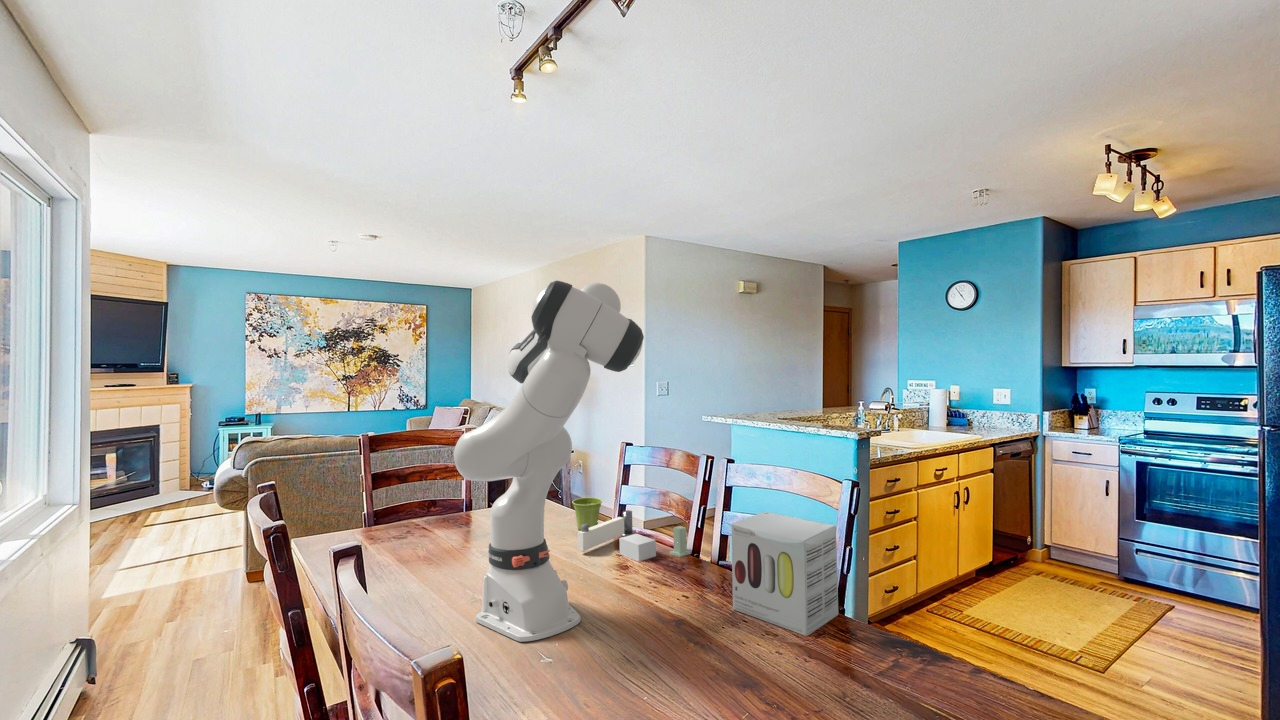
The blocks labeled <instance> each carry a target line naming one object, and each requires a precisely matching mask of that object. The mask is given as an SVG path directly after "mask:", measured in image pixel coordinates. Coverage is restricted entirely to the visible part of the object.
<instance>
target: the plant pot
mask: <svg viewBox="0 0 1280 720" xmlns="http://www.w3.org/2000/svg"><path fill="white" fill-rule="evenodd" d="M602 503H603V500H602V499H601V498H598V497H581V498H576V499H575V498H574V499H573V500H572V501H571V504H573V508H574V512H575V519H576V526H577V530H579V531H581V525H582V524H588V525H589V528H590V527H593V526H595V525H598V524H599V518H600V515H599V514H600V508H601V504H602ZM597 521H598V522H597Z"/></svg>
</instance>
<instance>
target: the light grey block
mask: <svg viewBox="0 0 1280 720" xmlns="http://www.w3.org/2000/svg"><path fill="white" fill-rule="evenodd" d="M618 539H619V543H618V544H619V555H621V556H624V557H626V558H629V559H631V560H634V561H636V562H642V561H644V560H648V559H652V558H655V557H657V546H656V545H657V544H656V543H657V539H654V538H650V537H648V536H646V535H645V536H644V535H642V534H639V533H635V534H633V535H630V536H626V537H622V536H621V537H618Z"/></svg>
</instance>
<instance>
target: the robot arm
mask: <svg viewBox="0 0 1280 720" xmlns="http://www.w3.org/2000/svg"><path fill="white" fill-rule="evenodd" d="M621 309H622V305H621V299H620V297H619V295H618V293H617V291H615V290H614V289H613V288H612V287H611V286H609V285H607V284H605V283H600V282H593V283H589V284H586V285H585V286H583V287H582V288H581V289H578V288H575V287H573V284H571V283H569V282H566V281H561V280H554V281H551V282H550V283H549V284H548V285H546V286H545V287H544V288H542V290H540V291H539V293H538V294H537V296H536V297H535V300H534V302H533V305H532V313H531V323H532V330H531V332H530V333H528V334H527V336H526V337H525V338H524V339H523V340H522V341H521V342H517V343H516V344H515V345H514V346H513V347H512V348H511V349H510V352H509V354H508V358H507V367H508V372H509V375H510V377H512V379H514V380H515V381H517V382H518V383H519V384H522V385H521V386H520V388H519V389H518V391H517V393H516V395H515V396H514V398H512V401H511V402H510V403H509V404H508V405H506V407H505V408H504V409H503V410H501V411H500V412H499V413H497V414H496V415H495V416H493V417H492V418H491V419H490V420H488V421H487V422H485V423H484V424H482V425H480V426H479V427H477V428H473V430H472V429H471V430H470V431H466V432H464V433H463V434H461V436H460V437H459V438H458V440H457V442H456V444H455V447H454V449H453V461H454V462H453V463H454V466H455V468H456V470H457V471H458V473H459V474H460V475H461V476H462V478H464V479H465V480H467V481H475V482H495V481H502V480H506V479H512V482H511V484H510V486H509V487H508V489H507V490H506V491H505V492H504V493H503V494H501V495H500V496H499V497H498V498H496V500H495V501H494V502H493V504H492V505H491V508H490V511H489V518H490V519H489V520H490V521H489V524H490V526H489V527H490V531H489V532H490V543H489V544H488V552H487V556H488V563H489V564H490V565H489V566H488V570H487V572H486V574H485V575H484V577H483V583H482V597H481V599H482V600H481V601H482V602H481V611H479V613H477V614H476V616H475V622H476V623H478V624H480V625H481V626H484V627H486V628H488V629H491V630H493V631H495V632H497V633H499V634H501V635H504V636H506V637H508V638H510V639H512V640H515V641H516V642H525V643H526V642H532V641H538V640H542V639H545V638H549V637H553V636H555V635H558V634H560V633H564V632H565V631H567V630H570V629H571V628H574V627H575V626H577V625H578V624H579V623H580V622H581V621H582V617H581V615H580V614H579V612H578V611H577V610H576V609H574V607H572V605H571V604H570V603H569V598H568V589H569V585H568V582H567V580H566V579H563V580H561V579H560V576H559V575H558V572H557V570H556V569H554V567H553V565H552V564H551V562H550V553H549V552H550V551H551V550H549V547H548V544H547V541H546V538H545V533H544V532H545V507H546V499H547V497H548V492H549V490H550V487H551V486H552V483H553V481H554V479H555V478H556V476H557V475H558V473H559V472H560V470H562V468H563V467H564V466H565V465H567V463H568V462H569V460H570V457H571V456H572V452H573V451H572V450H573V442H572V438H571V436H570V434H569V432H568V430H567V429H566V428H565V427H564V426H565V425H566V423H567V421H568V420H569V419H570V417H571V415H572V414H573V413H574V411H575V409H576V408H577V407H578V405H579V403H580V402H581V400H582V397H583V396H584V394H585V391H586V389H587V387H588V383H589V380H590V378H591V365H590V362H589V361H591V362H593V363H595V364H597V365H600V366H602V367H603V368H604V369H606V370H609V371H611V372H616V373H620V372H623V371H626V370H627V369H628V367H630V366H631V365H632V364H633V363H635V362H636V360H637V359H638V358H639V356H640V354H641V351H642V347H643V345H644V344H643V341H644V339H645V337H644V333H643V329H642V328H641V327H640V326H639V325H638V324H637V323H636V322H635V321H633V319H632V318H627V317H626V316H625V315H623V314H622V313H621Z"/></svg>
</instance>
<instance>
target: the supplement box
mask: <svg viewBox="0 0 1280 720" xmlns="http://www.w3.org/2000/svg"><path fill="white" fill-rule="evenodd" d="M837 548H838V547H837V525H835V524H831V523H830V524H829V523H826V522H825V523H824V522H819V521H814V520H811V519H804V518H801V517H800V518H799V517H794V516H789V515H784V514H779V513H775V512H774V513H773V512H768V511H764V512H761V513H757V514H754V515H751V516H748V517H746V518H742V519H741V520H738V521H735V522H733V523H731V569H732V573H731V575H732V576H731V577H732V579H731V580H732V582H731V583H732V610H733V611H737V612H740V613H743V614H745V615H748V616H750V617H753V618H755V619H757V620H761V621H764V622H767V623H770V624H772V625H775V626H778V627H780V628H784V629H786V630H788V631H792V632H794V633H797V634H799V635H801V636H805V637H808V636H809V635H811V634H812V633H814V632H815V631H816V630H818V629H820V628H821V627H823V626H824V625H826V624H827V623H829V622H831V620H833V619H834V618H836V617H838V615H839V596H838V595H839V592H838V591H839V589H838V554H837V553H838V552H837V551H838V549H837Z"/></svg>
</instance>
